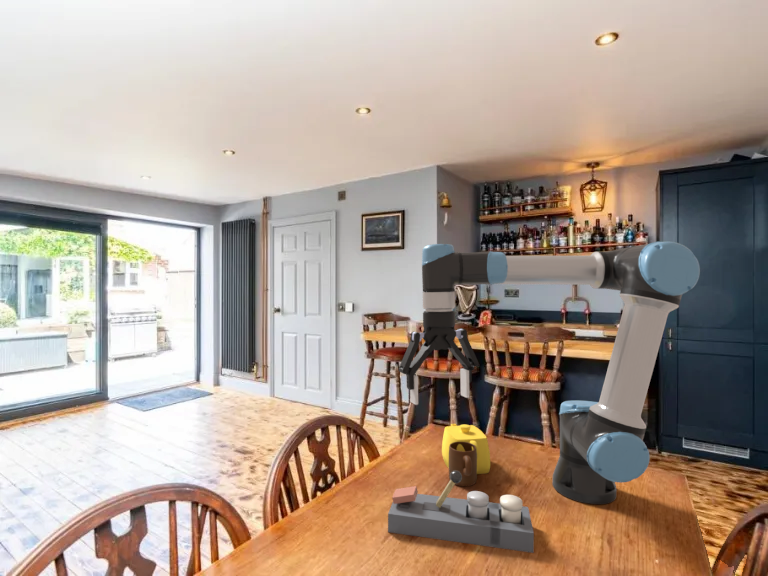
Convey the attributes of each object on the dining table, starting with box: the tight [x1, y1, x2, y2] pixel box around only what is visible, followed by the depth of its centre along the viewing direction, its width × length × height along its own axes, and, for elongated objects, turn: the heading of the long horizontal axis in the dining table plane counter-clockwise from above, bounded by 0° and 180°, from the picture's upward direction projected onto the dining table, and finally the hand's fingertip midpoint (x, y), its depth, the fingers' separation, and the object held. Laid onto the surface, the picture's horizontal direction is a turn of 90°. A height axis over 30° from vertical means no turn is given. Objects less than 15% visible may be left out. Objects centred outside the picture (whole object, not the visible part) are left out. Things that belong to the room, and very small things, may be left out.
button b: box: [466, 490, 490, 520], centre depth 90 cm, size 5×5×5 cm
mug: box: [448, 442, 478, 487], centre depth 111 cm, size 12×8×9 cm, turn 1°
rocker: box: [392, 485, 419, 504], centre depth 94 cm, size 5×4×1 cm
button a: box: [499, 494, 524, 524], centre depth 89 cm, size 5×5×5 cm
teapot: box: [441, 423, 491, 475], centre depth 124 cm, size 20×12×12 cm, turn 9°
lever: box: [436, 470, 462, 508], centre depth 92 cm, size 3×3×9 cm
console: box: [387, 493, 535, 554], centre depth 91 cm, size 30×10×5 cm, turn 77°
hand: (440, 399), depth 98 cm, fingers open, 13 cm apart
